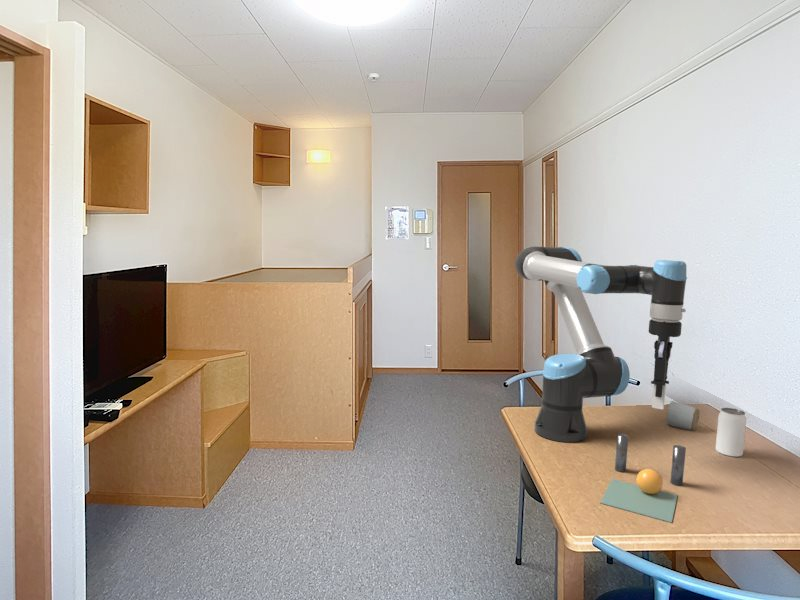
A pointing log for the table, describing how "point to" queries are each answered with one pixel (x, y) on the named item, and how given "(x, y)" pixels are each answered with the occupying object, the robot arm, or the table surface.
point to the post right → (678, 465)
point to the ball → (649, 481)
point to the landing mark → (640, 500)
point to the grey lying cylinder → (682, 416)
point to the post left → (621, 452)
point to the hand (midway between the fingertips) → (657, 407)
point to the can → (731, 432)
